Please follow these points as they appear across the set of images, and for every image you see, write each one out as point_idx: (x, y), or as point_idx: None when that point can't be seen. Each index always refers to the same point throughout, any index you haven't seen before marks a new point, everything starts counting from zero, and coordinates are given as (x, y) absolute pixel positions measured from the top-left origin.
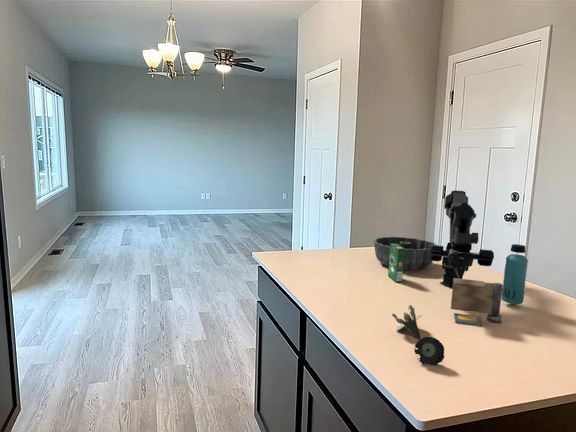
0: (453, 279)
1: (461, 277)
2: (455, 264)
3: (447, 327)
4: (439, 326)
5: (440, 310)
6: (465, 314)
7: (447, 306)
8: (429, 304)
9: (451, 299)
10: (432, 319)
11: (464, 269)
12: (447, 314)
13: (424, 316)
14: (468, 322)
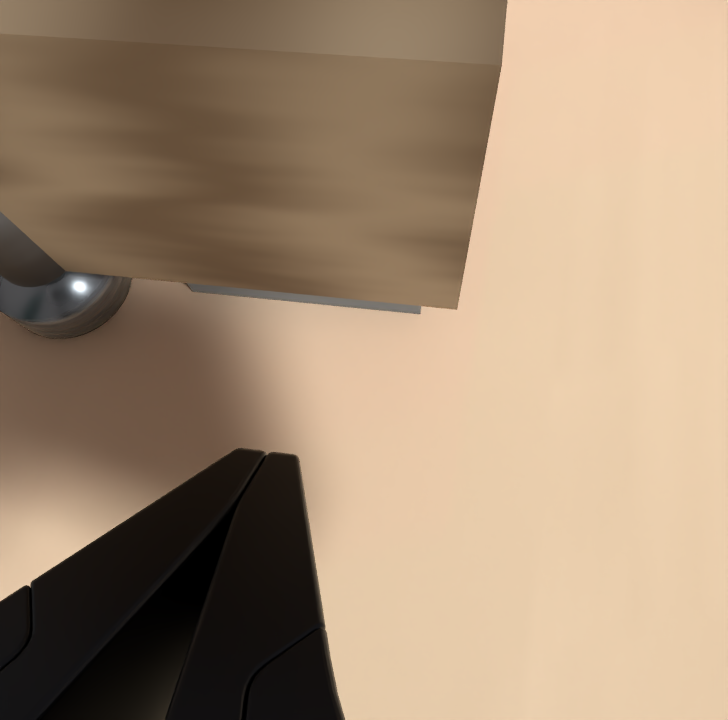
0: (503, 37)
1: (249, 452)
2: (341, 716)
3: (519, 40)
4: (583, 42)
5: (540, 420)
6: (311, 296)
7: (444, 577)
8: (657, 596)
9: (464, 266)
10: (635, 165)
11: (87, 551)
12: (480, 323)
13: (710, 215)
14: None
